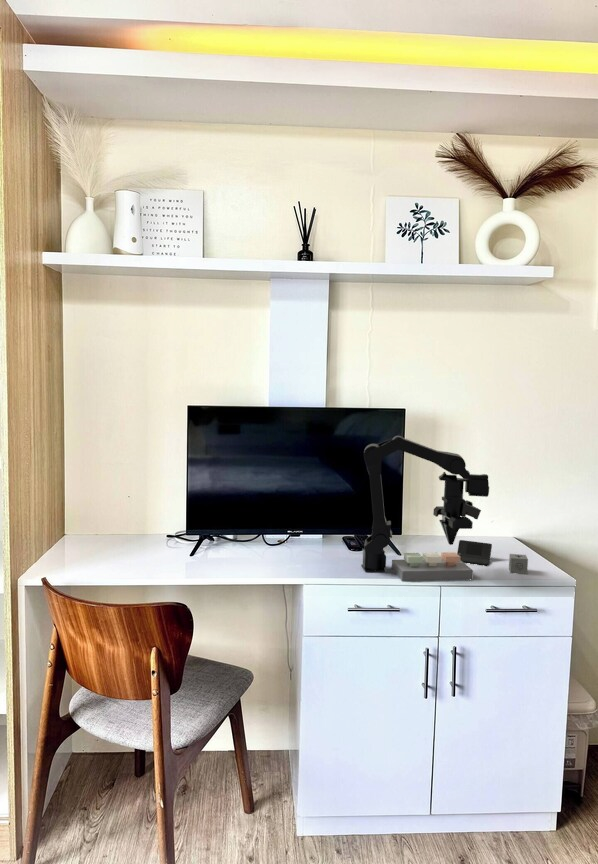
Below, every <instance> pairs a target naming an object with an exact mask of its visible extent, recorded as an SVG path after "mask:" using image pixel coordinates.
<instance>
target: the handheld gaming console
mask: <svg viewBox="0 0 598 864" xmlns="http://www.w3.org/2000/svg"><path fill="white" fill-rule="evenodd" d="M492 547H493V545H492V543H490V542H482V541H481V542H480V541H472V540H471V541H470V540H462V539H460V540H459V541H458V546H457V552H456V553H457V554H458V555H459V556H460V560H461V561H462V562H463V563H465V564H467V563H470V564H469V565H474V564H477V565H476V566H483V565H484V566H485V567H488V566H487V565H489V564H490V561H491V554H492Z"/></svg>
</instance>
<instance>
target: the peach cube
mask: <svg viewBox="0 0 598 864" xmlns="http://www.w3.org/2000/svg"><path fill="white" fill-rule="evenodd" d="M440 556H441V557H442V560H444V561H445V565H447V566H455V562H460V556H459V555H458V554H457V552H455V551H453V552H449V551H448V552H440Z"/></svg>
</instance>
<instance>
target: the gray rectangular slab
mask: <svg viewBox="0 0 598 864" xmlns="http://www.w3.org/2000/svg"><path fill="white" fill-rule="evenodd" d="M391 570H392V571H393V572H394V573H395V575H396V576H397V575H398V576H397V577H398V578H399V579H400V581H402V582H413V581H414V582H415V581H417V582H421V581H427V582H428V581H468V580H469V581H472V580H473V575H474V574H473V573H474V572H473V571H474V570H473V568H471V567H470V566H468V565H467V563H463V562H462V561H461V560H460V562H455V566H447V565H445V561H444V560H442V561H441V563H437V566H428V565H427V562H426V561H425V560H424V559H423V563H418V567H409V566H408V562H407V561H406V560H405V559H404V558H403V559H391ZM470 579H471V580H470Z"/></svg>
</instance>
